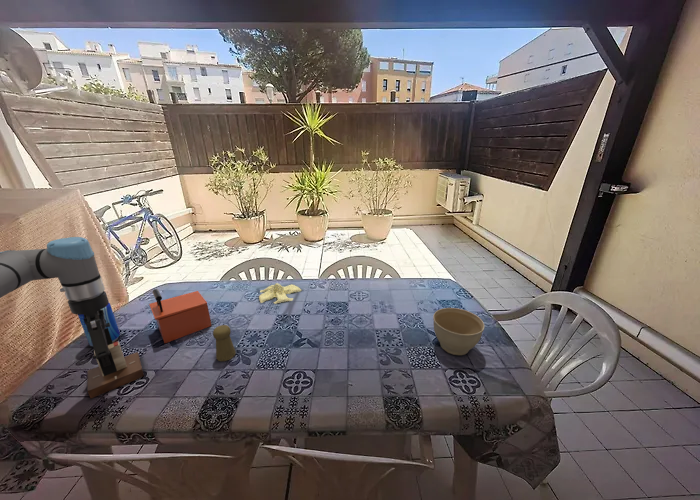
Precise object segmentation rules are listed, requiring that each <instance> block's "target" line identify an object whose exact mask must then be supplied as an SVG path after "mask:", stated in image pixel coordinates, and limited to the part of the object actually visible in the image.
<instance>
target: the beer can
mask: <svg viewBox="0 0 700 500" xmlns="http://www.w3.org/2000/svg"><path fill="white" fill-rule="evenodd" d="M101 310H103V311H104V317H105V320H106V323H110V326H109V327H106V328H108V330H109V333H110V336H111V339H112V342H113V343H114V342H117V341H118V340H119V337H120V335H121V331H120V329H119V327H118V322H117V320H116V317H115V314H114V311H113V308H112V305H111V303H110V302H109V303H108V305H107V306H106V307H104V308H103V309H101ZM77 316H78V319H79V322H80V325H81V327H82V330H83V332H84V335H85V337H86V340H87V342H88V343H87V344H88V345H89V346H90V347H93V344H92V341H91V337H90V334H89V332H88V330H87V326H86V324H85V323H84V315H82V314H81V315H77ZM106 328H105V329H106Z"/></svg>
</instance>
